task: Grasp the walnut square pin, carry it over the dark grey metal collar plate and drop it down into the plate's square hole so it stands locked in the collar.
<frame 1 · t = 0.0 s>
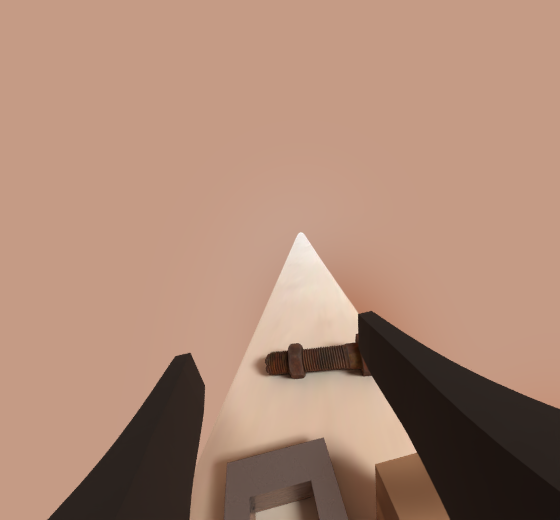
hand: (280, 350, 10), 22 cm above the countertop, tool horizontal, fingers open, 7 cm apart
bolt: (319, 371, 36), on the countertop
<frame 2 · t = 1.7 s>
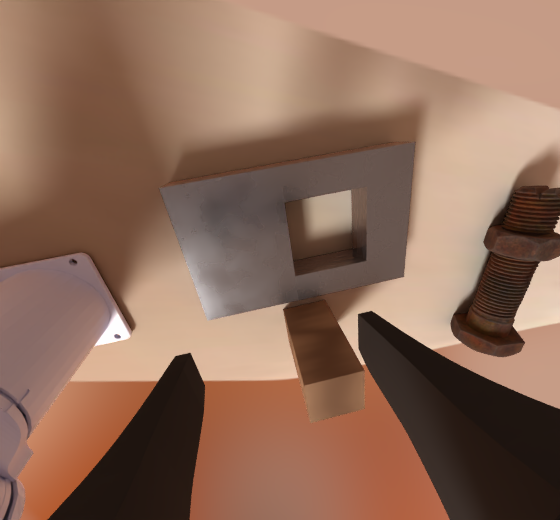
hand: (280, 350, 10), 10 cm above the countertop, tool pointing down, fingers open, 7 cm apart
bolt: (483, 261, 24), on the countertop
pin: (306, 321, 23), on the countertop
collar plate: (318, 223, 19), on the countertop
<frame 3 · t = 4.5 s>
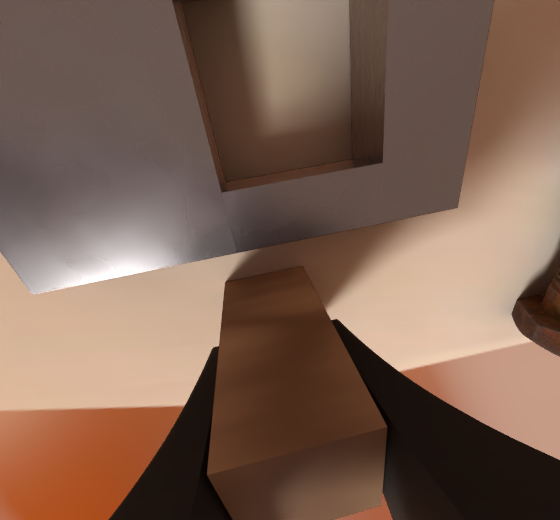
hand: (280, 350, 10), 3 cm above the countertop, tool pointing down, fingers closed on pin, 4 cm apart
pin: (270, 305, 13), on the countertop, touching gripper
collar plate: (280, 92, 9), on the countertop
when the fingers open (5 cm above the countertop, at t = 8.0 s): pin drops 1 cm, resting in collar plate.
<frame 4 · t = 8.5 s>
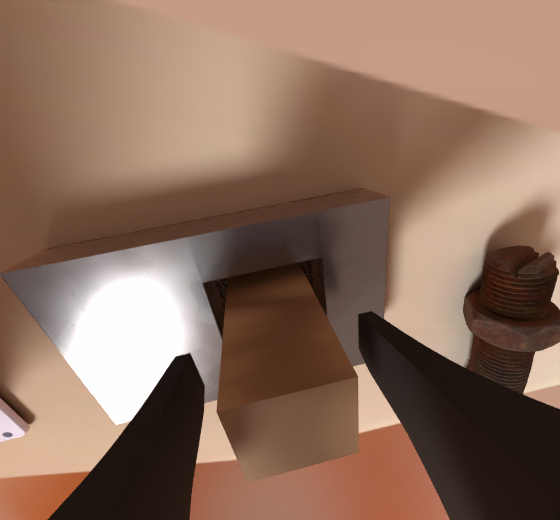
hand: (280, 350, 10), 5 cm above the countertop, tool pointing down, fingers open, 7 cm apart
bolt: (472, 325, 19), on the countertop
pin: (268, 294, 15), resting in collar plate
collar plate: (268, 291, 15), on the countertop
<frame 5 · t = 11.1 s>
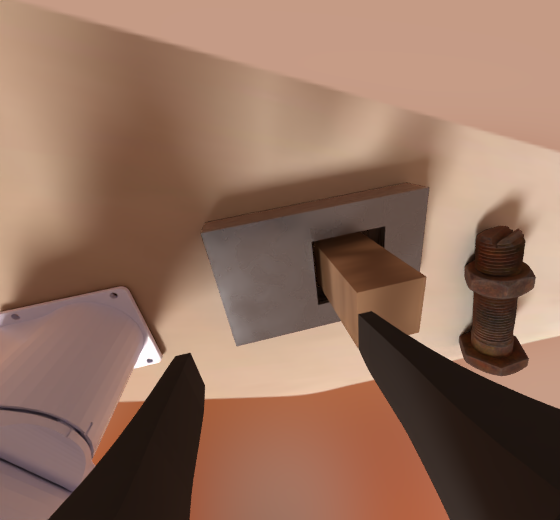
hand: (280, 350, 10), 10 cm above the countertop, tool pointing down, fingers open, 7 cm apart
bolt: (472, 288, 26), on the countertop
pin: (337, 257, 21), resting in collar plate
collar plate: (337, 254, 21), on the countertop
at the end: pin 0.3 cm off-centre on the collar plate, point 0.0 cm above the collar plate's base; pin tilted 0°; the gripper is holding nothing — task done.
